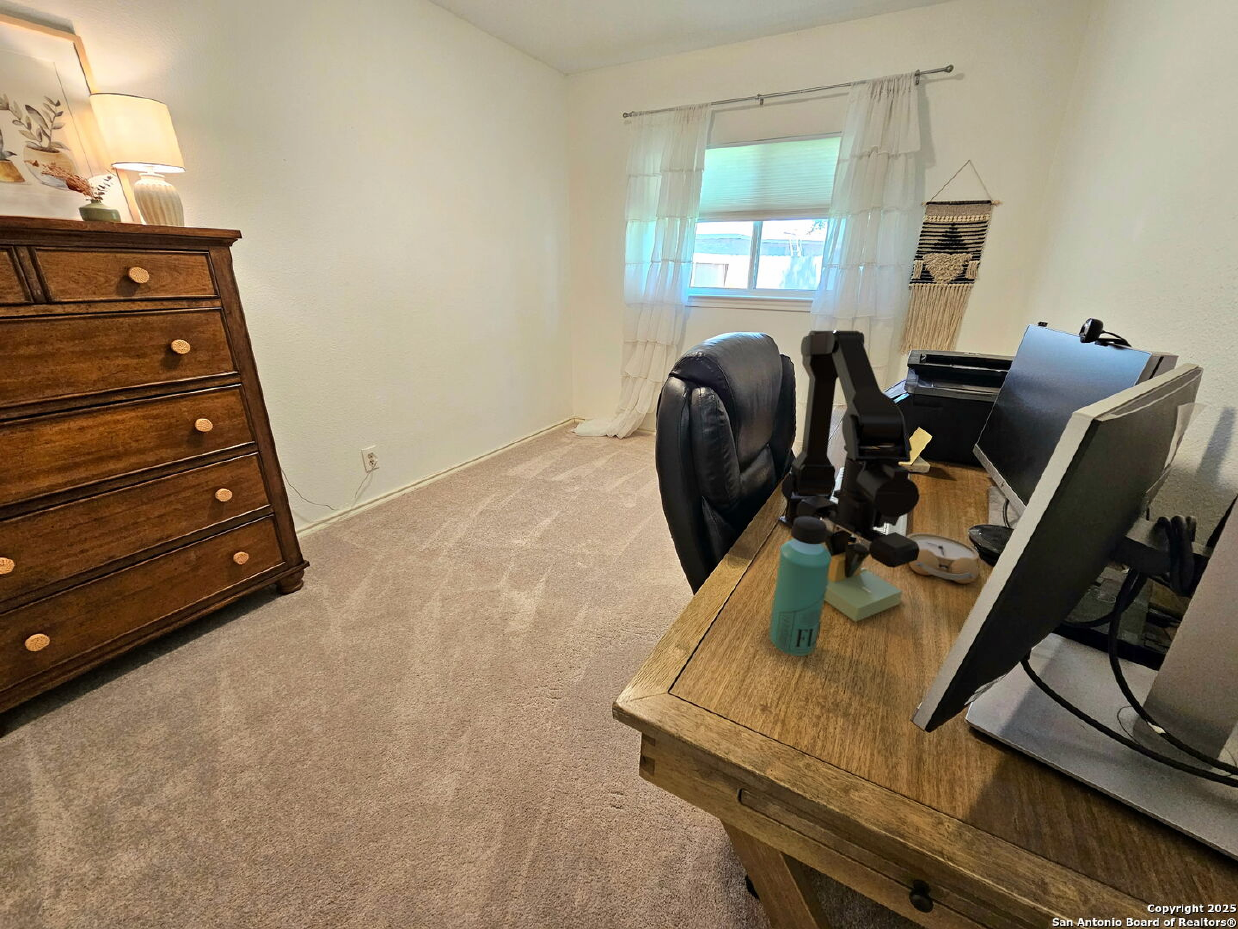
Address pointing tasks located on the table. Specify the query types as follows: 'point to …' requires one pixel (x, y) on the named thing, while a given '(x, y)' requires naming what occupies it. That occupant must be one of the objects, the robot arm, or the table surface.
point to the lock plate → (862, 595)
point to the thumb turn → (839, 568)
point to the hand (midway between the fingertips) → (843, 573)
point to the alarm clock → (945, 558)
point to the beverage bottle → (800, 588)
